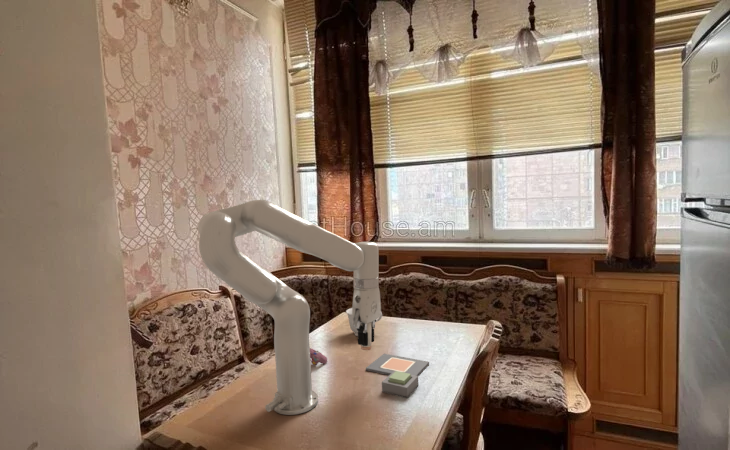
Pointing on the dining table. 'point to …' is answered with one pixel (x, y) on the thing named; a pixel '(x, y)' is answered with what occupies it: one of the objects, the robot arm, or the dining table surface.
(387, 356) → the picture board
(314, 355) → the video game controller
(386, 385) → the button housing
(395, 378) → the button
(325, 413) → the dining table surface
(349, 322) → the teacup
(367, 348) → the marker
